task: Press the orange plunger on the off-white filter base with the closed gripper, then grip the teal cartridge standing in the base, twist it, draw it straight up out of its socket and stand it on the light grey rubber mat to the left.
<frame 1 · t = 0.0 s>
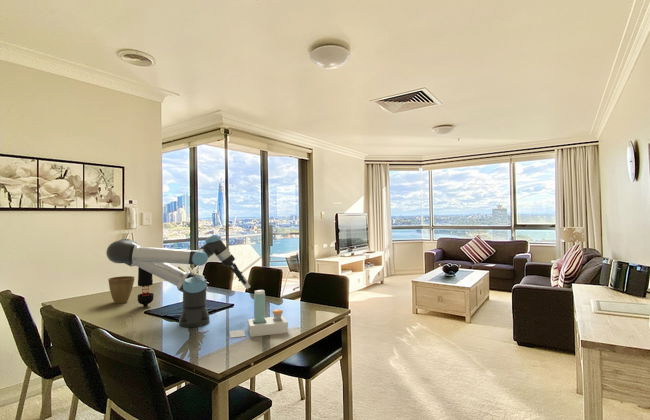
hand: (247, 285, 199), 15 cm above the table, tool tilted 35°, fingers open, 13 cm apart
cartridge: (259, 331, 163), resting in filter base
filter: (147, 306, 209), on the table
plunger: (277, 315, 166), point 7 cm above the table, slide at 0.0 cm
plant pot: (121, 302, 219), on the table
filter base: (267, 330, 165), on the table
mat: (237, 334, 160), on the table
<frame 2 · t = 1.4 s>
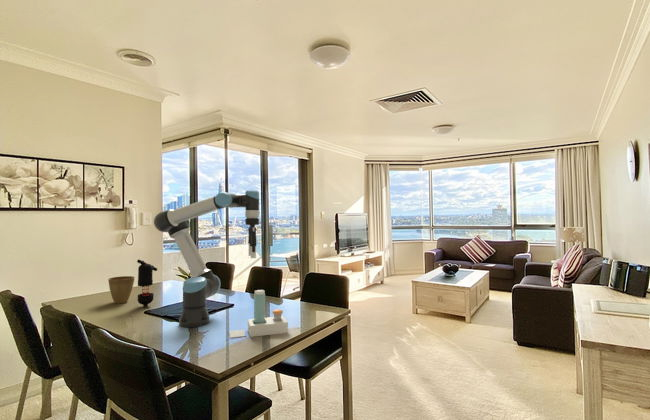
hand: (252, 256, 187), 34 cm above the table, tool pointing down, fingers open, 11 cm apart
nothing on the table moved.
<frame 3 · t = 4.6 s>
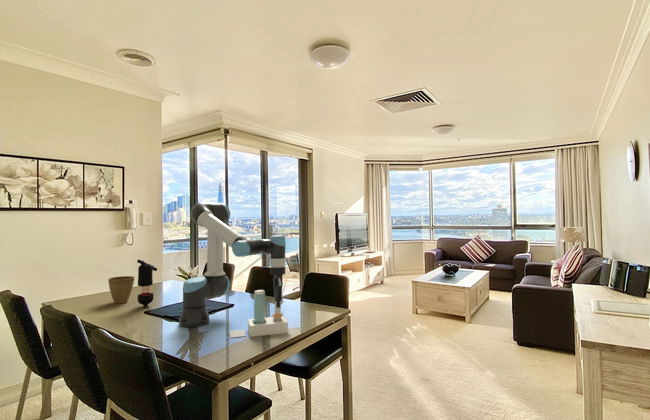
hand: (277, 313, 166), 8 cm above the table, tool pointing down, fingers closed
plunger: (277, 318, 166), point 6 cm above the table, slide at 1.6 cm, touching gripper
everything else where it was.
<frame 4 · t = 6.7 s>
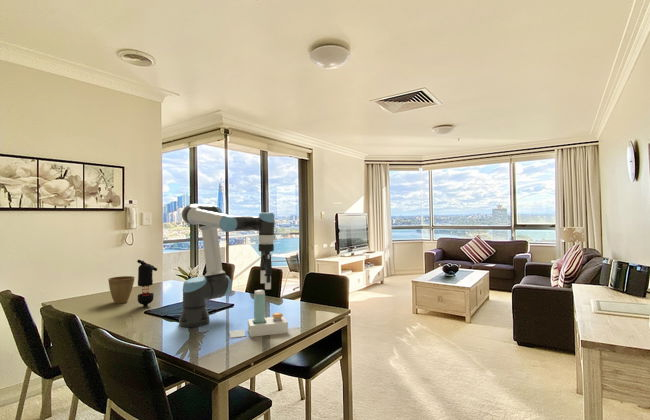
hand: (265, 286, 165), 22 cm above the table, tool pointing down, fingers open, 13 cm apart
plunger: (277, 318, 166), point 6 cm above the table, slide at 1.7 cm
everything else where it was.
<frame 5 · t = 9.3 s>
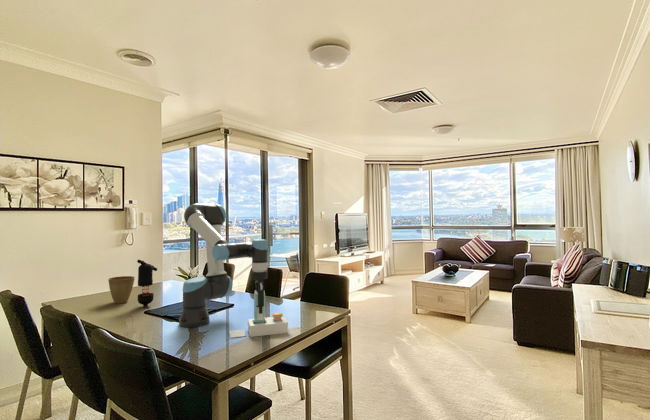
hand: (259, 317, 163), 7 cm above the table, tool pointing down, fingers closed on cartridge, 5 cm apart
cartridge: (259, 331, 163), resting in filter base, touching gripper
everything else where it was.
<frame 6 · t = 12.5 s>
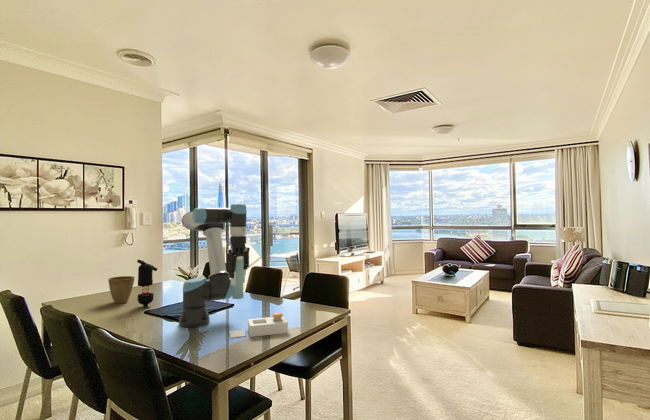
hand: (237, 283, 160), 24 cm above the table, tool pointing down, fingers closed on cartridge, 5 cm apart
cartridge: (237, 297, 160), point 18 cm above the table, touching gripper
everything else where it was.
when the fingers open (8 cm above the table, at t = 15.7 s): cartridge stays where it is, resting on mat.
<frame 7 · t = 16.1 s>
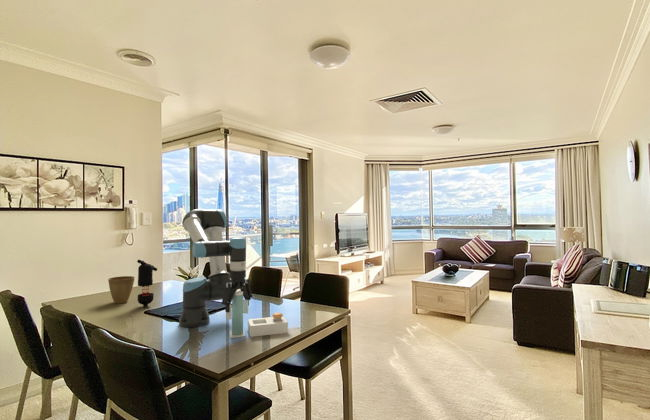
hand: (237, 315, 160), 9 cm above the table, tool pointing down, fingers open, 10 cm apart
cartridge: (237, 333, 160), resting on mat
everything else where it was.
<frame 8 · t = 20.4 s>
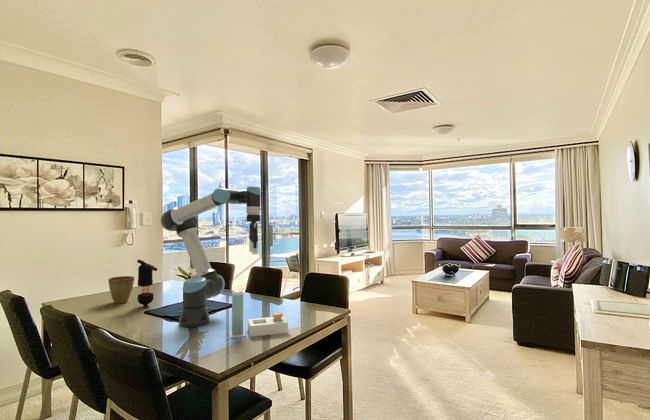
hand: (253, 253, 182), 37 cm above the table, tool pointing down, fingers open, 13 cm apart
nothing on the table moved.
at the end: cartridge inside the target area (0.2 cm from its centre), resting on mat; cartridge tilted 0°; plunger slide at 1.7 cm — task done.
